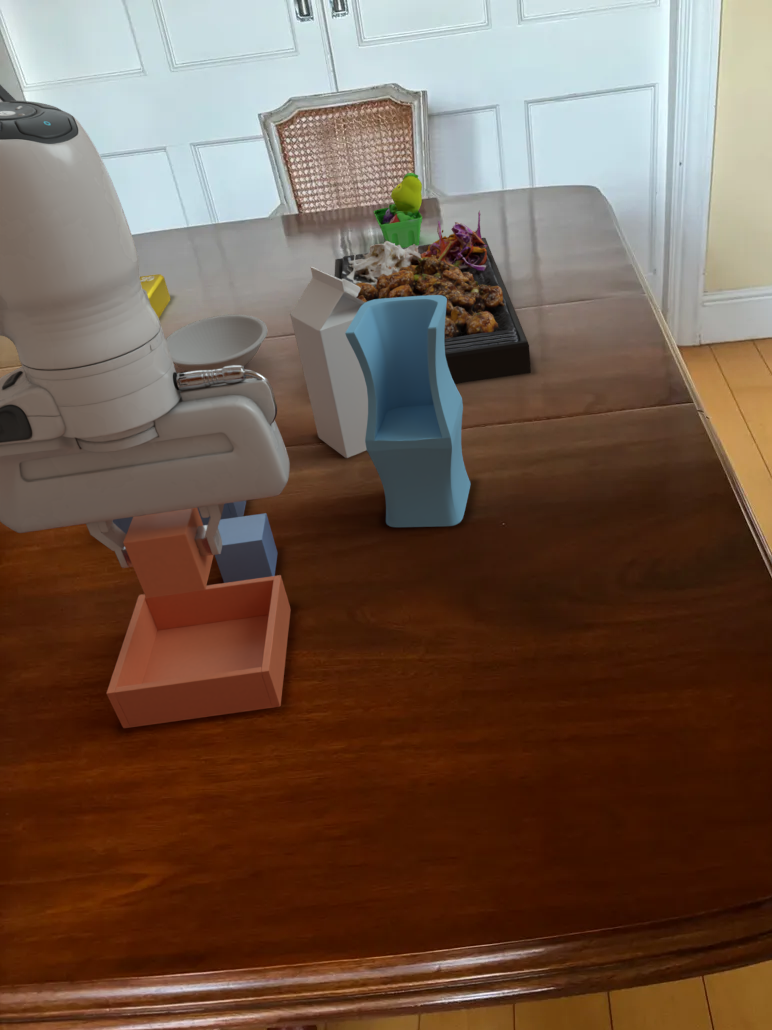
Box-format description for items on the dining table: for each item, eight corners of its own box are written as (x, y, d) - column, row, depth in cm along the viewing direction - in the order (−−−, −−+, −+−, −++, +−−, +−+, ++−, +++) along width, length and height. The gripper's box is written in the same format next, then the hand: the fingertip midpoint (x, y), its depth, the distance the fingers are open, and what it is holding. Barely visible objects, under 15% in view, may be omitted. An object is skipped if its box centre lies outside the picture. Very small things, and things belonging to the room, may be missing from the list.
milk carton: (347, 462, 99) (310, 291, 87) (318, 440, 104) (280, 276, 92) (401, 439, 102) (373, 271, 90) (371, 419, 107) (340, 257, 95)
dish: (174, 359, 130) (163, 325, 127) (272, 340, 131) (264, 306, 128) (169, 409, 116) (157, 373, 113) (279, 387, 117) (270, 351, 114)
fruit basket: (377, 238, 166) (366, 173, 160) (423, 230, 167) (415, 164, 160) (384, 255, 157) (373, 187, 150) (433, 247, 158) (425, 178, 151)
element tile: (60, 342, 141) (49, 312, 138) (88, 309, 153) (77, 281, 150) (153, 330, 141) (144, 300, 138) (174, 298, 152) (165, 269, 149)
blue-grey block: (226, 591, 82) (211, 546, 79) (232, 563, 86) (218, 519, 83) (275, 584, 82) (261, 539, 79) (278, 556, 86) (266, 512, 83)
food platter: (340, 286, 147) (327, 221, 140) (488, 265, 147) (482, 198, 140) (334, 404, 111) (317, 323, 105) (531, 376, 111) (525, 293, 105)
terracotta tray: (125, 732, 69) (105, 693, 66) (154, 632, 78) (138, 594, 76) (281, 711, 69) (268, 670, 66) (291, 613, 78) (280, 574, 76)
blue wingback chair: (382, 532, 87) (344, 333, 75) (397, 489, 93) (363, 299, 81) (462, 530, 85) (436, 327, 73) (472, 487, 92) (449, 293, 79)
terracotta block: (145, 598, 66) (122, 542, 63) (156, 563, 70) (135, 509, 67) (206, 589, 66) (185, 533, 63) (214, 555, 70) (195, 500, 66)
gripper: (269, 342, 61) (312, 514, 69) (-28, 386, 61) (51, 552, 69) (260, 380, 56) (308, 561, 64) (-63, 428, 56) (27, 601, 64)
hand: (172, 557), depth 67 cm, fingers closed on terracotta block, 4 cm apart
